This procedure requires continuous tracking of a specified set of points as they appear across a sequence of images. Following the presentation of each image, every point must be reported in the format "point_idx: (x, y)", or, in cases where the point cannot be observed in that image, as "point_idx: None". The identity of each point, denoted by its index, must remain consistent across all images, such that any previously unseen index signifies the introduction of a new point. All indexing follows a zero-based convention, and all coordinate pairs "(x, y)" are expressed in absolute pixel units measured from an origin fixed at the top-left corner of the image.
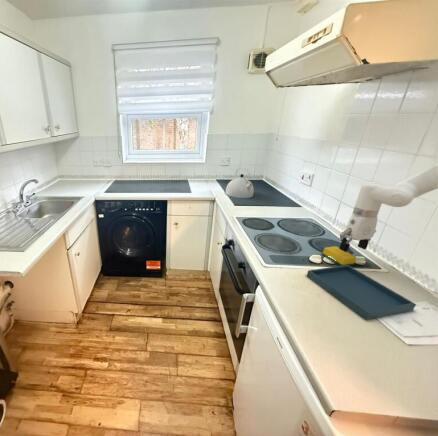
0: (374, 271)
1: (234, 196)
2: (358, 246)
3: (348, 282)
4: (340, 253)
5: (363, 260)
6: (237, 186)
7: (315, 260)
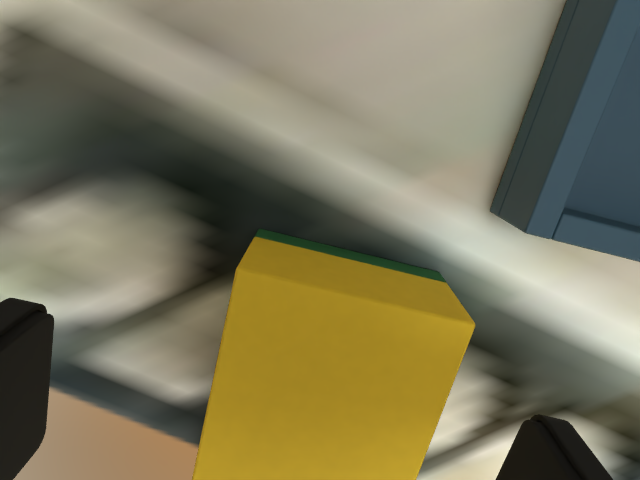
0: (172, 23)
1: None
2: (41, 427)
3: None
4: (349, 431)
5: (21, 230)
6: None
7: None
